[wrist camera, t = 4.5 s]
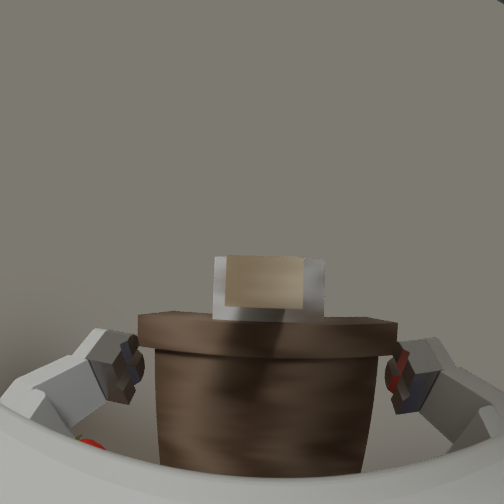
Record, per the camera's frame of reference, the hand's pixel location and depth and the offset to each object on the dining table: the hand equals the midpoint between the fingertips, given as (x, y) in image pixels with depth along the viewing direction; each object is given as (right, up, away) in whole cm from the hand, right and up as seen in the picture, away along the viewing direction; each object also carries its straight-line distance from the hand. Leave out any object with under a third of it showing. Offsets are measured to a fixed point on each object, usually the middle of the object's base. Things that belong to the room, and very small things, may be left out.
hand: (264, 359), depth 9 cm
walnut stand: (0, -27, +8) cm, 28 cm away
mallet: (+1, -1, +8) cm, 8 cm away
